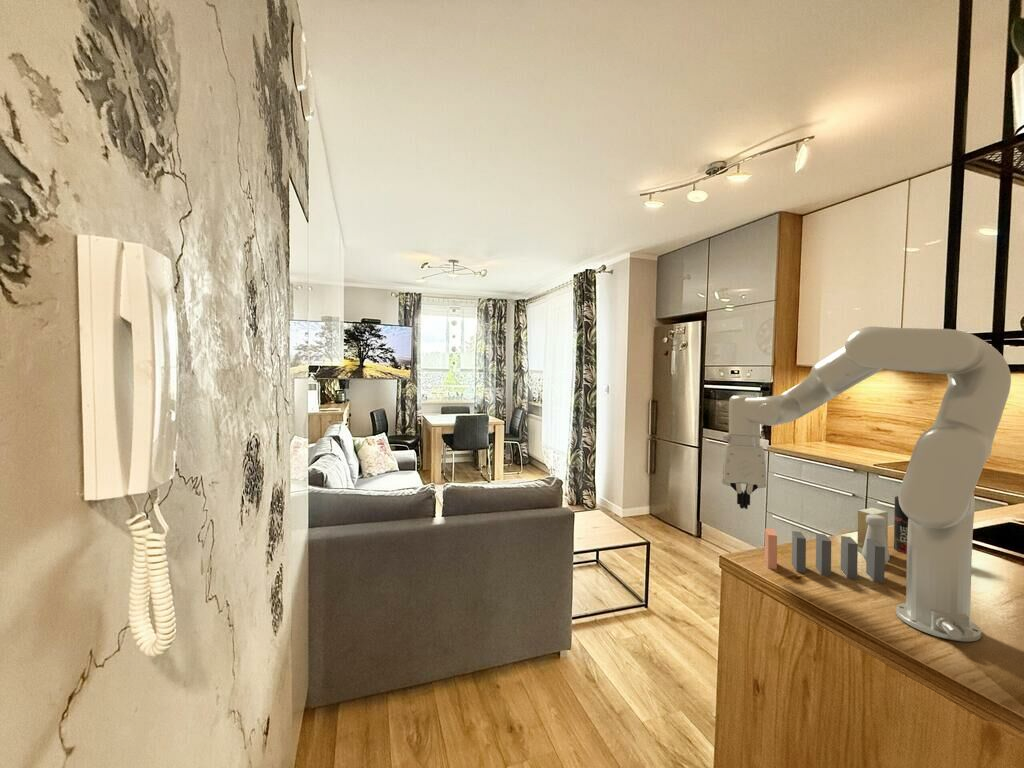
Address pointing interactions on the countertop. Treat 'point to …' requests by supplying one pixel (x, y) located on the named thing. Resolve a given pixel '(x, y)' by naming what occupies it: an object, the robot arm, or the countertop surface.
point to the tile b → (823, 554)
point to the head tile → (770, 548)
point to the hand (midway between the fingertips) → (743, 507)
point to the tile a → (799, 551)
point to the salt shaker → (876, 533)
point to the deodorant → (900, 528)
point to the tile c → (849, 557)
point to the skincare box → (864, 526)
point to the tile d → (875, 560)
